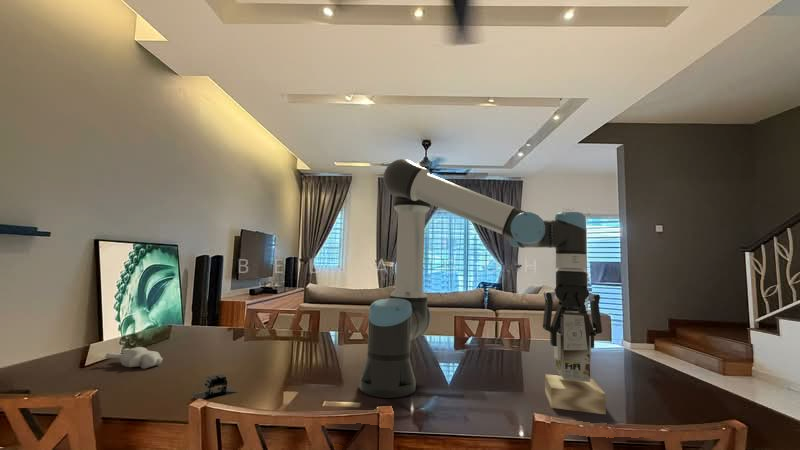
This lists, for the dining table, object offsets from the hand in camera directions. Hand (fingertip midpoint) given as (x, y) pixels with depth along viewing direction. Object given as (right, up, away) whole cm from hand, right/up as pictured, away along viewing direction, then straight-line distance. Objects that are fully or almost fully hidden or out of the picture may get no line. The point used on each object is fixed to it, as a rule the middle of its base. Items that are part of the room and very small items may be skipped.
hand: (572, 359), depth 95 cm
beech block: (0, -11, -1) cm, 11 cm away
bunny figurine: (-126, -8, +17) cm, 127 cm away
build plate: (-91, -8, -4) cm, 91 cm away
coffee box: (0, -4, 0) cm, 4 cm away
